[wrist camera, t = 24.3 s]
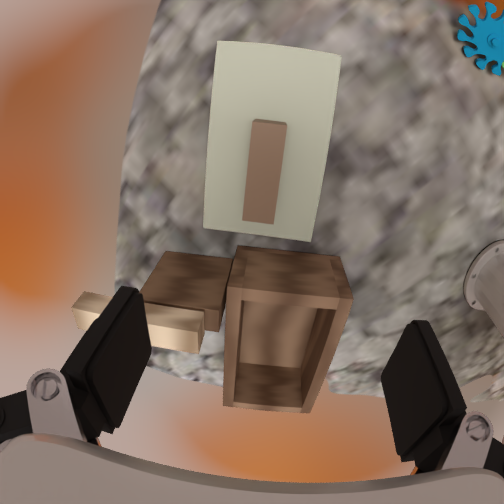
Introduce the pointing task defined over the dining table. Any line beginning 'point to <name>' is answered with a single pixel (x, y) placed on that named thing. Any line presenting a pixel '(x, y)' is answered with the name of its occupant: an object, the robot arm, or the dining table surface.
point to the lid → (268, 138)
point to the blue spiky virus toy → (485, 37)
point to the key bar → (150, 322)
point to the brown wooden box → (263, 318)
